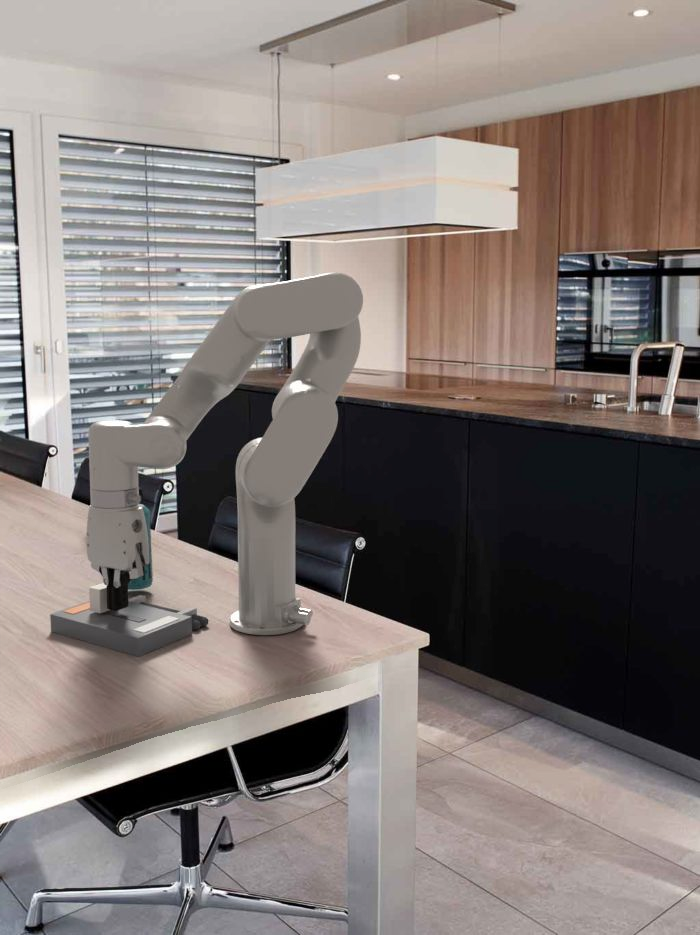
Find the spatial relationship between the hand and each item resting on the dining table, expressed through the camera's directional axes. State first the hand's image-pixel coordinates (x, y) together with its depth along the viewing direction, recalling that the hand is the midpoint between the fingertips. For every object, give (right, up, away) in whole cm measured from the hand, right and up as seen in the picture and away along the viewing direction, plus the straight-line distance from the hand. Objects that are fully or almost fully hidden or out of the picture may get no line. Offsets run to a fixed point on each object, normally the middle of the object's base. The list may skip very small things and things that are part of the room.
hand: (117, 607), depth 155 cm
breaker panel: (0, -4, +1) cm, 4 cm away
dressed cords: (+5, -3, +8) cm, 10 cm away
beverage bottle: (-2, -1, +22) cm, 22 cm away
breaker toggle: (-3, 0, +2) cm, 4 cm away
